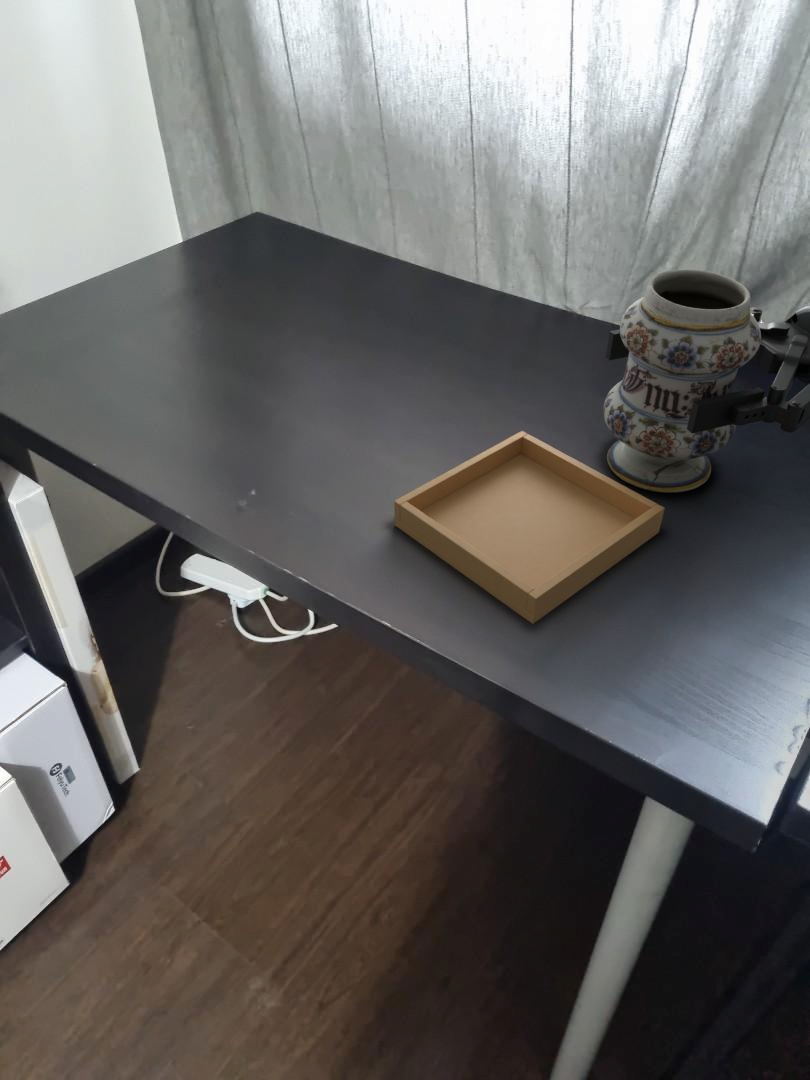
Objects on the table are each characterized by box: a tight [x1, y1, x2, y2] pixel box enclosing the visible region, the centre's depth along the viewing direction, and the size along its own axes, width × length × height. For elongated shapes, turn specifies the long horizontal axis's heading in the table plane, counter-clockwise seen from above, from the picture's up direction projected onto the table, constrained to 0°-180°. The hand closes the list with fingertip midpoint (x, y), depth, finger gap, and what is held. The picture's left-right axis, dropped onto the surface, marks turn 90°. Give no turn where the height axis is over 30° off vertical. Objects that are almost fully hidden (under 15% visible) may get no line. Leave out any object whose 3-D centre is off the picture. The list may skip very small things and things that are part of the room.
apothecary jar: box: [602, 268, 761, 494], centre depth 75 cm, size 12×12×18 cm
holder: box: [393, 430, 665, 625], centre depth 73 cm, size 17×17×3 cm
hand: (647, 379), depth 74 cm, fingers open, 13 cm apart
